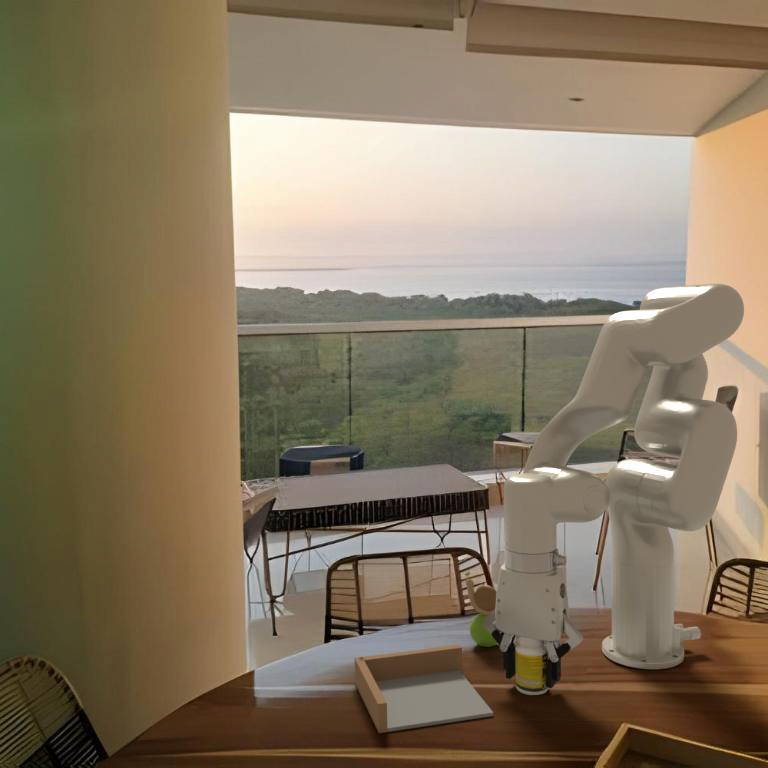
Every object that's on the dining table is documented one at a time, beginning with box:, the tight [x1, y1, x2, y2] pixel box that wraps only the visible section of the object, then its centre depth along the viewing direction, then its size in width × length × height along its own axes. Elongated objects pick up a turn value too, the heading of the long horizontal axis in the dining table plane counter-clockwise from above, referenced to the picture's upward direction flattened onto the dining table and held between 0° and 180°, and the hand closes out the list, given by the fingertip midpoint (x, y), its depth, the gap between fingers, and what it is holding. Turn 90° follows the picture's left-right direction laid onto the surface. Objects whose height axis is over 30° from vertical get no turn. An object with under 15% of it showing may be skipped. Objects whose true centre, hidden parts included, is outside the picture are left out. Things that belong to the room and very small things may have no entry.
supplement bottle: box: [515, 636, 549, 696], centre depth 116 cm, size 5×5×8 cm
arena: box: [354, 644, 494, 734], centre depth 114 cm, size 17×15×4 cm
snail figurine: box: [464, 571, 498, 648], centre depth 132 cm, size 5×6×12 cm
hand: (531, 678), depth 116 cm, fingers open, 5 cm apart
